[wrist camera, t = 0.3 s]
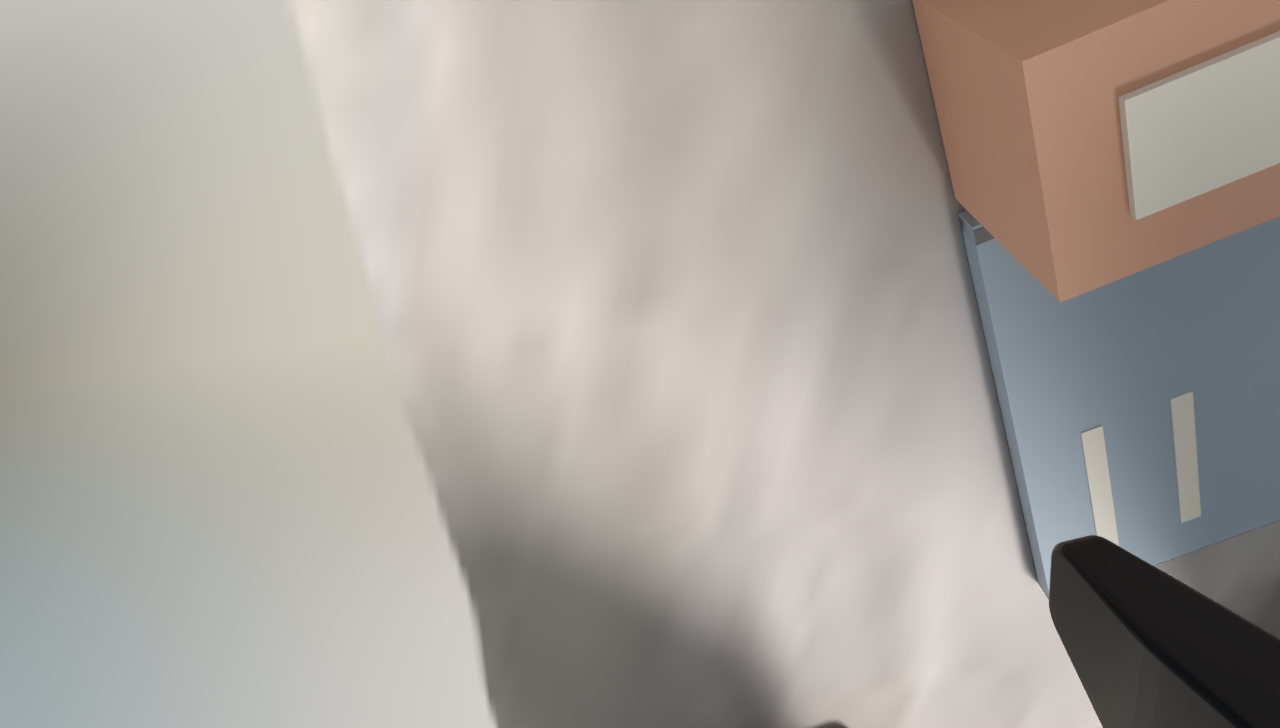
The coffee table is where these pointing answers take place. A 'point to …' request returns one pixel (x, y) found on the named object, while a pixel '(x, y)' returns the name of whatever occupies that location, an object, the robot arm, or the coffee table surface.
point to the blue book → (1140, 396)
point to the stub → (1107, 126)
